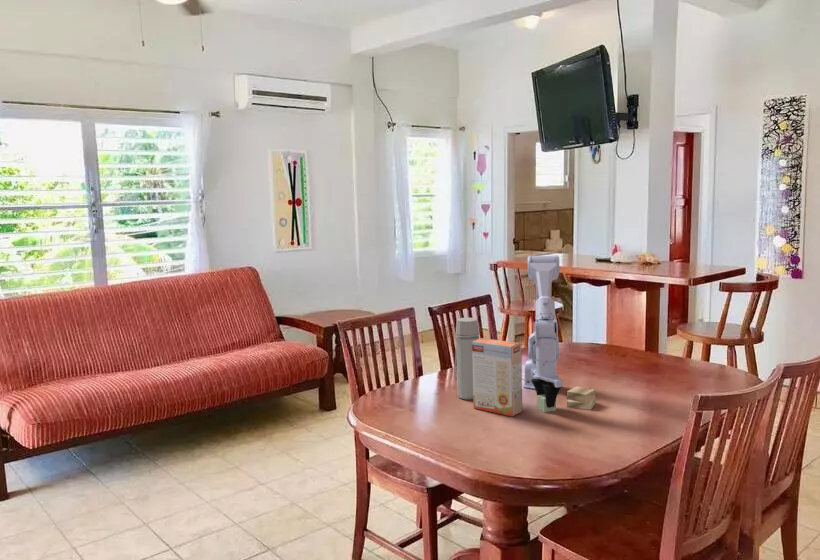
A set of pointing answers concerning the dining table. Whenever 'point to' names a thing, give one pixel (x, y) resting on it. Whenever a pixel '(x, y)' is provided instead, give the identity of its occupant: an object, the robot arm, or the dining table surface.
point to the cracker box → (497, 376)
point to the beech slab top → (581, 394)
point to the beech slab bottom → (581, 404)
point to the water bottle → (465, 355)
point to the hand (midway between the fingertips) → (546, 404)
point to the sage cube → (544, 404)
